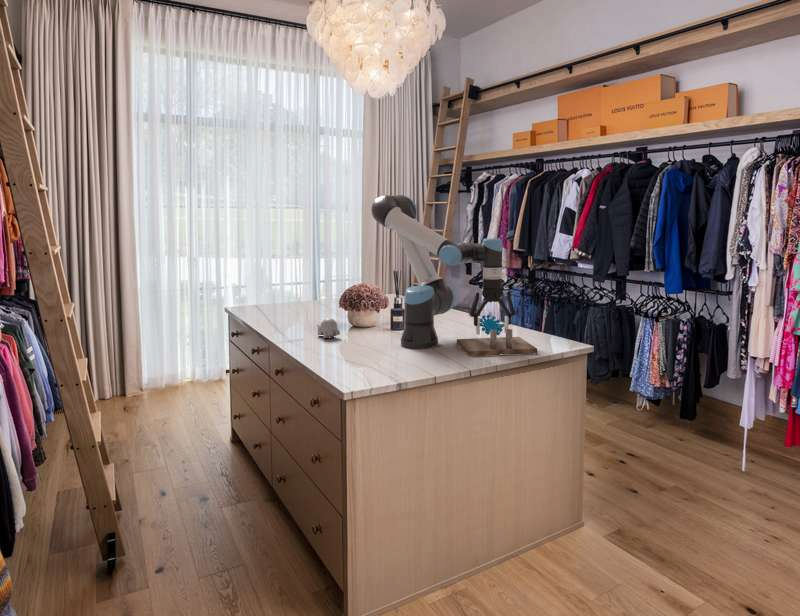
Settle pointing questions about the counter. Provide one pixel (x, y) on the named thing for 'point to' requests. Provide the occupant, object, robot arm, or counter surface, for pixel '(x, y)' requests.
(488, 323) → the gear
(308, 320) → the counter surface
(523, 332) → the counter surface
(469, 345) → the dowel plate
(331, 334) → the chubby cartoon animal
